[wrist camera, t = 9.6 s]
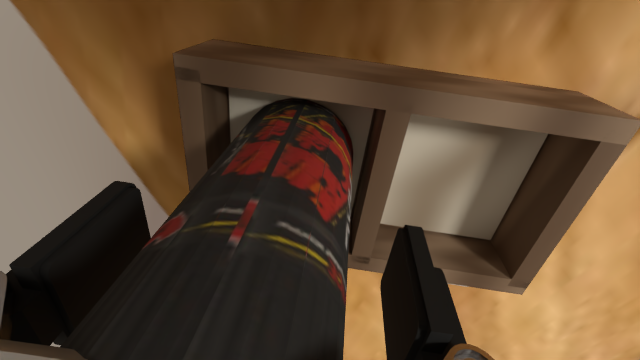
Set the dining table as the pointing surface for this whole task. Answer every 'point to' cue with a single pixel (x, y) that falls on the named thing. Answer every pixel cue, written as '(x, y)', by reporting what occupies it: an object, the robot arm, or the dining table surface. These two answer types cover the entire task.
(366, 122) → the divided compartment tray
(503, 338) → the dining table surface
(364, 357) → the dining table surface
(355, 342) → the dining table surface
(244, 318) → the deodorant
